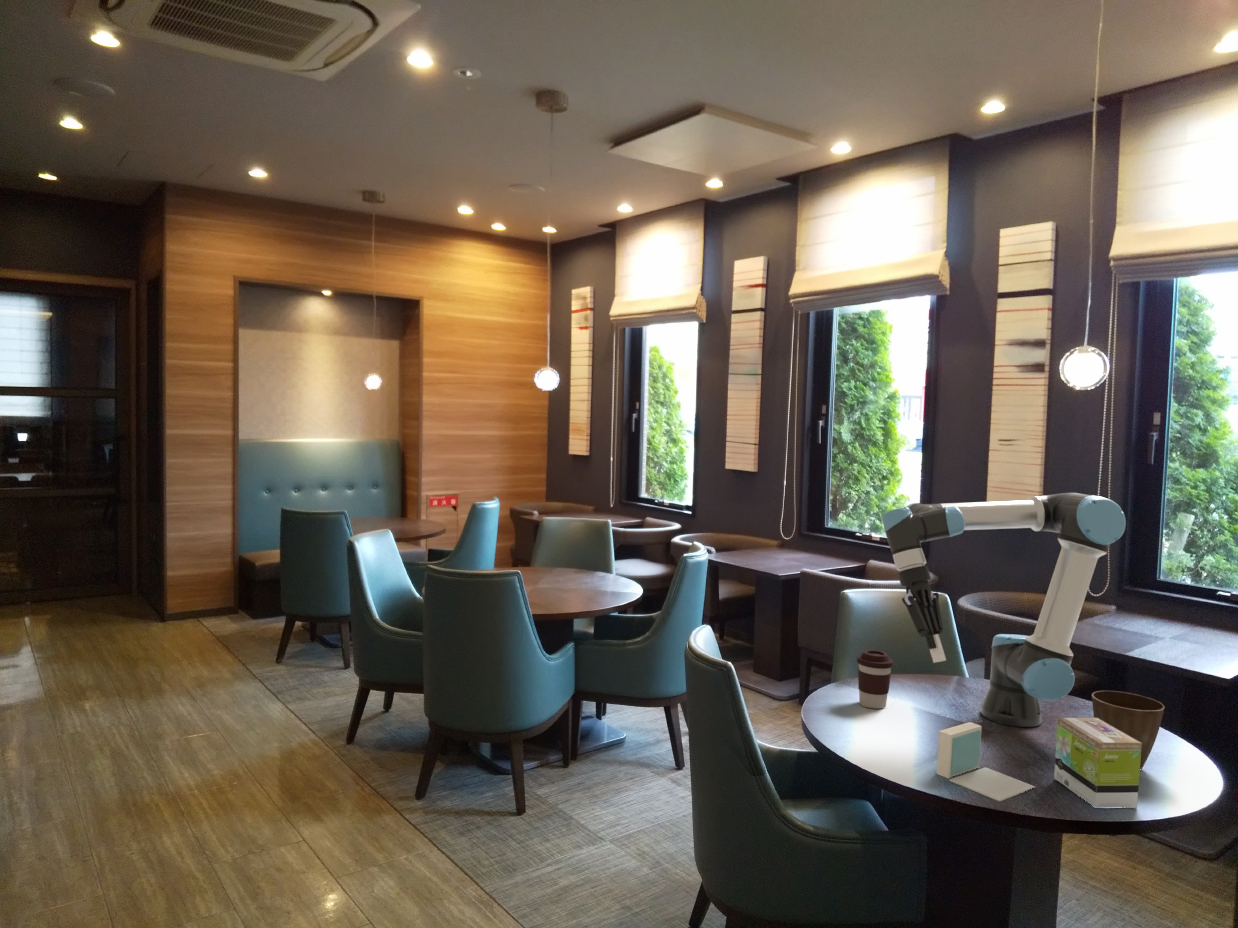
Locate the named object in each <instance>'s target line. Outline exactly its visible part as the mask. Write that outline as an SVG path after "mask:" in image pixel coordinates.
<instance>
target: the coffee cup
mask: <svg viewBox="0 0 1238 928" xmlns="http://www.w3.org/2000/svg"><path fill="white" fill-rule="evenodd" d="M856 663H857V664H858V668H857V669H858V670H857V676H858V677H857V678H858V679H857V682H858V683H857V684H858V685H857V686H858V687H857V688H858V690H859V704H860V705H861V706H862V707H865V708H868V709H874V710H877V709H878V710H879V709H884V708H886V706H887V701H888V694H889V691H890V684H891V677H892V676H891V674H892V671H891V669H892V668H893V667H894V660H893V658H891V657H890V656H889V653H887V652H885V651H881V650H877V649H875V650H874V649H872V650H871V649H866V650H864V651H863V652H862V653H861V654H858V655H857V656H856Z"/></svg>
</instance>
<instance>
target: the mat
mask: <svg viewBox="0 0 1238 928" xmlns="http://www.w3.org/2000/svg"><path fill="white" fill-rule="evenodd" d="M948 779H949V782H951V783H953V784H956V785H958V786H961V787H963V788H965V789H968V790H970V791H973V792H975V793H978V794H980V795H983V796H985V797H986V798H990V799H992V800H994V801H997V802H999V803H1000V802H1002V801H1006V800H1008V799H1010V798H1013V797H1015V796H1018V795H1021V794H1023V793H1025V791H1026V792H1028V790H1029V791H1031V790H1033V789H1032V788H1034V789H1036V786H1035V785H1033V784H1029V783H1027V782H1025V781H1021V780H1019V779H1017V778H1014V777H1012V776H1009V775H1007V774H1004V773H1001V772H999V771H997V770H994V769H991V768H989V767H986V766H985V767H983V768H978V769H975V770H972V771H969V772H966V773H963V774H960V775H957V776H954V777H951V778H948ZM1030 789H1031V790H1030ZM1020 793H1021V794H1020Z"/></svg>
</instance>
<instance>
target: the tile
mask: <svg viewBox="0 0 1238 928" xmlns="http://www.w3.org/2000/svg"><path fill="white" fill-rule="evenodd" d="M982 727H983V726H982V725H980V724H977V723H975V722H974V723H973V722H971V721H970V722H969V721H968V722H965V723H961V724H959V725H955V726H952V727H948V728H944V729H941V730H938V744H937V757H936V758H937V760H936V775H939V776H941V777H943V778H946V779H952V778H954V777H957V776H960V775H963V774H966V773H968V772H972V771H974V770H977V769H980V758H981V757H980V756H981V742H982V730H983V729H982ZM976 768H977V769H976ZM973 769H974V770H973ZM967 771H968V772H967ZM965 772H966V773H965ZM962 773H963V774H962ZM959 774H960V775H959ZM956 775H957V776H956ZM953 776H954V777H953Z"/></svg>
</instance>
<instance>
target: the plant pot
mask: <svg viewBox="0 0 1238 928" xmlns="http://www.w3.org/2000/svg"><path fill="white" fill-rule="evenodd" d="M1091 703H1092V713H1093V718H1099V719H1100V720H1102V721H1104V722H1106V723H1107V724H1109V725H1111V726H1113V727H1114V728H1116V729H1118V730H1120V731H1121V732H1123V733H1125V734H1127V735H1128V736H1130V737H1132V738H1134V739H1135V740H1137V741H1139V742H1141V743H1142V746H1141V761H1140V769H1141V770H1142V769H1143V767H1144V766H1145V765H1146V762H1147V761H1148V758H1149V756H1150V754H1151V752H1152V750H1153V747H1154V744H1155V743H1156V739H1157V736H1158V733H1159V731H1160V728H1161V727H1160V726H1161V724H1162V719H1163V717H1164V712H1165V705H1164V704H1163V703H1162V702H1160V701H1158V700H1156V699H1154V698H1150V697H1147V696H1144V695H1140V694H1136V693H1131V692H1126V691H1125V692H1124V691H1118V690H1117V691H1116V690H1097V691H1094V692H1092V693H1091Z"/></svg>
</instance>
